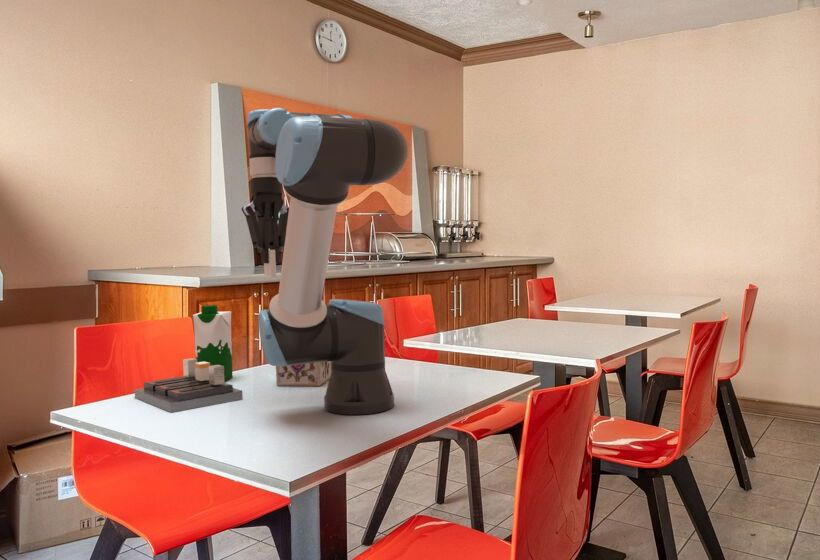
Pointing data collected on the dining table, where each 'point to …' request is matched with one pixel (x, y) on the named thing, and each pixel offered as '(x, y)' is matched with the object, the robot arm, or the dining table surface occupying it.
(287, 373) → the decorative jar
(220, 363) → the milk carton
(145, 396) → the breaker panel
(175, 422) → the dining table surface
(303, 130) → the robot arm
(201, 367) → the toggle
